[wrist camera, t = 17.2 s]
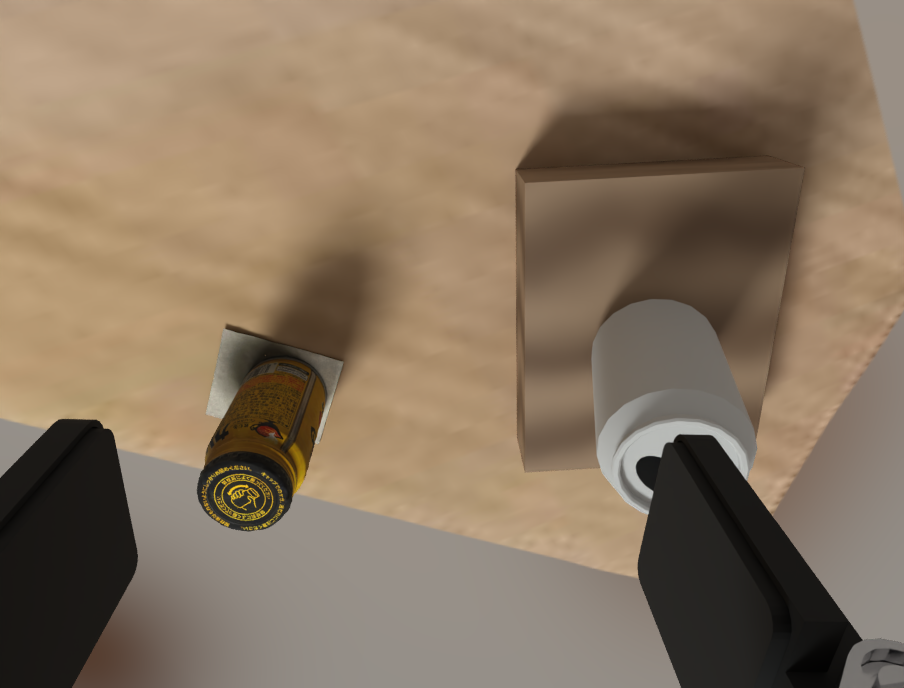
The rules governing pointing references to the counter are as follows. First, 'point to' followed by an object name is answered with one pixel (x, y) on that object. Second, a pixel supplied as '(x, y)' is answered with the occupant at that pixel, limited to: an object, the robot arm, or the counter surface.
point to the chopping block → (641, 277)
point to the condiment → (262, 428)
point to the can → (662, 394)
